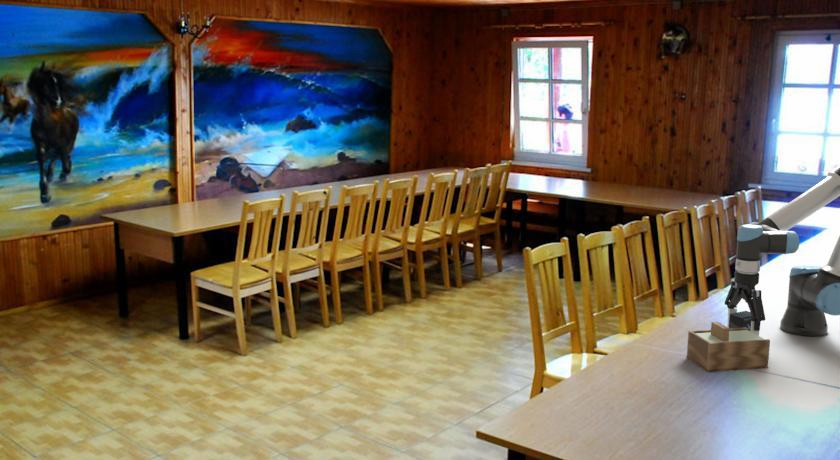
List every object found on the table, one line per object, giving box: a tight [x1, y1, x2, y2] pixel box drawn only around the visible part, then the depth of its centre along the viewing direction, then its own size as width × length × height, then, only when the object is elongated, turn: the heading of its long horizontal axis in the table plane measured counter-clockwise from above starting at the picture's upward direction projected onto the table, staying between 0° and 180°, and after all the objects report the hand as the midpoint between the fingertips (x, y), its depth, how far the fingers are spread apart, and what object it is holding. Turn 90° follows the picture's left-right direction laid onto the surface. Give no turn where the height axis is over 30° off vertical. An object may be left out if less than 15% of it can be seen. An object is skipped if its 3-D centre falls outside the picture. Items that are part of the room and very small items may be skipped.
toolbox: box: [686, 327, 771, 373], centre depth 253 cm, size 20×13×9 cm, turn 100°
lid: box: [695, 321, 765, 343], centre depth 252 cm, size 19×11×5 cm, turn 100°
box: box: [729, 310, 753, 331], centre depth 271 cm, size 8×6×11 cm
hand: (742, 333), depth 271 cm, fingers open, 13 cm apart
